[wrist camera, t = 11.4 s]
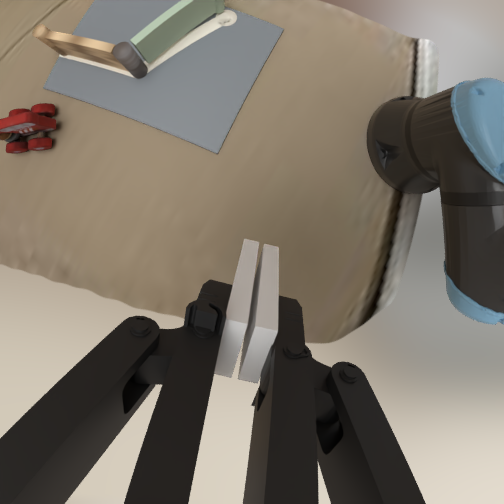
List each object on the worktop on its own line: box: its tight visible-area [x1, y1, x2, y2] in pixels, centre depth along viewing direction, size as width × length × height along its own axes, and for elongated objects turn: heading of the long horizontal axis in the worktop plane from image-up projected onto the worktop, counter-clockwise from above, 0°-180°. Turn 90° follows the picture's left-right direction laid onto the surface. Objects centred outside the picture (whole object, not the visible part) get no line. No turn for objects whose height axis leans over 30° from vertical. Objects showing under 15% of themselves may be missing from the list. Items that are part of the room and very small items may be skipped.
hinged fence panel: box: [130, 0, 225, 63], centre depth 33 cm, size 14×2×9 cm, turn 132°
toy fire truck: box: [0, 103, 56, 153], centre depth 35 cm, size 7×12×10 cm, turn 88°
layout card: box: [43, 0, 284, 154], centre depth 38 cm, size 32×22×1 cm
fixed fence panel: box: [33, 24, 148, 79], centre depth 33 cm, size 17×2×10 cm, turn 65°
